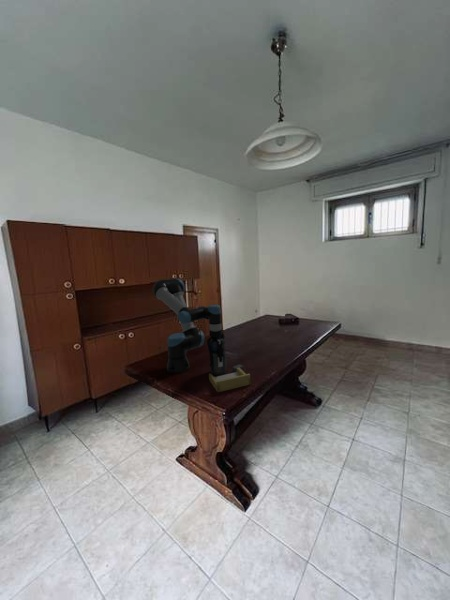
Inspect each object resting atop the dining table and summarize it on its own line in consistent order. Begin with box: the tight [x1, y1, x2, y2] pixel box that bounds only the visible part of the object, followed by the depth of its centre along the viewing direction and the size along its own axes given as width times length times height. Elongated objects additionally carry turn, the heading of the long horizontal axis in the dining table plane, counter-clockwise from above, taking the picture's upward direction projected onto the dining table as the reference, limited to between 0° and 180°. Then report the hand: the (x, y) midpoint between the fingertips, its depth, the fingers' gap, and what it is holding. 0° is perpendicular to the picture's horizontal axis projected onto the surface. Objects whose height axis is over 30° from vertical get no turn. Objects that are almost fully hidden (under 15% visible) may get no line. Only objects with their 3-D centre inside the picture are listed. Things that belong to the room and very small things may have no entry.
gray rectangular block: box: [232, 363, 245, 373], centre depth 161 cm, size 6×4×3 cm, turn 126°
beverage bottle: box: [206, 332, 228, 376], centre depth 157 cm, size 10×13×25 cm
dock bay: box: [208, 368, 251, 393], centre depth 146 cm, size 20×16×6 cm
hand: (217, 363), depth 158 cm, fingers open, 11 cm apart
